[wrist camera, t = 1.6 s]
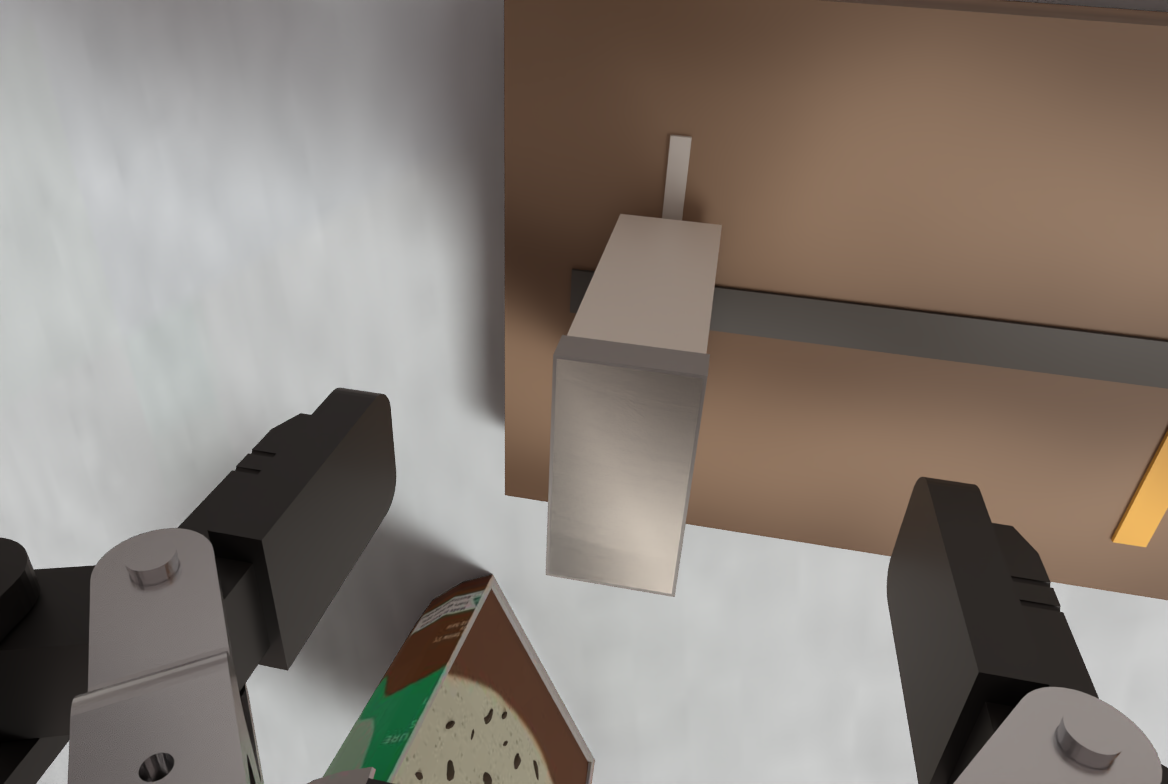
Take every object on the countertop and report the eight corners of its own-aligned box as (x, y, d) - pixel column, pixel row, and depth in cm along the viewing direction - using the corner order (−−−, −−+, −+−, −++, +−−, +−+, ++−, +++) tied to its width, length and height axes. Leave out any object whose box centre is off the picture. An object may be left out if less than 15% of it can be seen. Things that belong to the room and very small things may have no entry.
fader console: (536, -34, 17) (502, -23, 15) (1520, 37, 15) (1652, 63, 12) (528, 440, 23) (504, 497, 21) (1214, 543, 21) (1266, 618, 19)
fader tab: (617, 210, 16) (553, 354, 11) (725, 222, 16) (707, 375, 11) (604, 387, 18) (545, 574, 13) (699, 400, 18) (674, 596, 13)
